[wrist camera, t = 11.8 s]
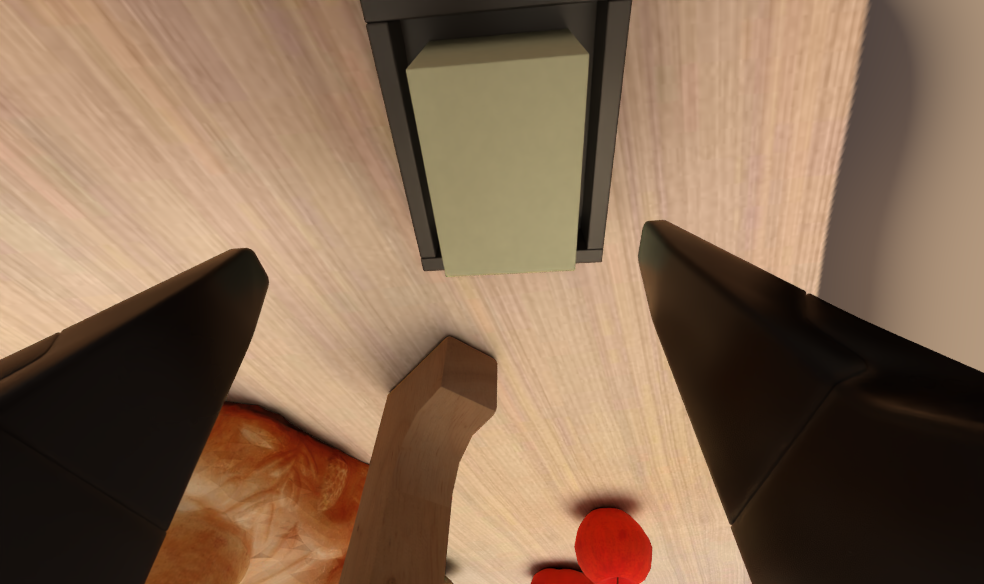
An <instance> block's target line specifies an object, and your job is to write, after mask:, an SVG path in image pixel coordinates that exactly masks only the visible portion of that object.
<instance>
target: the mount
mask: <svg viewBox="0 0 984 584" xmlns="http://www.w3.org/2000/svg"><path fill="white" fill-rule="evenodd" d="M360 3H361V7H362V11H363V15H364V20H365V22H366V23H367V24H366V28H367V32H368V36H369V40H370V45H371V49H372V53H373V57H374V62H375V66H376V70H377V74H378V78H379V83H380V87H381V91H382V95H383V100H384V104H385V108H386V112H387V117H388V121H389V125H390V129H391V134H392V138H393V142H394V146H395V150H396V155H397V159H398V163H399V167H400V172H401V176H402V180H403V184H404V189H405V193H406V197H407V201H408V206H409V210H410V214H411V218H412V223H413V227H414V231H415V235H416V239H417V244H418V248H419V252H420V256H421V262H422V266H423V270H424V271H436V270H444V265H443V260H442V255H441V249H440V244H439V239H438V234H437V229H436V224H435V218H434V213H433V208H432V203H431V198H430V193H429V188H428V182H427V177H426V172H425V167H424V162H423V157H422V151H421V146H420V141H419V136H418V131H417V126H416V121H415V115H414V110H413V105H412V100H411V95H410V90H409V84H408V79H407V74H406V69H407V68H408V66H409V65H410V64H411V63H412V62H413V60H414V59H415V58H416V57H417V55H418V54H419V53H420V52H421V51H422V49H423V48H424V47H425V46H426V45H427V43H428V42H429V41H437V40H448V39H459V38H470V37H481V36H492V35H503V34H514V33H526V32H537V31H548V30H559V29H569V30H570V32H571V33H572V34H573V35H574V36H575V38H576V39H577V40H578V41H579V42H580V44H581V45H582V46H583V47H584V48H585V50H586V51H587V52H588V53H589V68H588V83H587V98H586V113H585V128H584V144H583V159H582V174H581V189H580V204H579V219H578V234H577V250H576V263H592V262H602V255H603V246H604V237H605V228H606V220H607V211H608V203H609V194H610V185H611V177H612V168H613V159H614V151H615V142H616V134H617V125H618V116H619V108H620V99H621V91H622V82H623V73H624V65H625V56H626V48H627V39H628V30H629V22H630V13H631V5H632V0H360Z"/></svg>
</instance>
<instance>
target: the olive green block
mask: <svg viewBox="0 0 984 584" xmlns="http://www.w3.org/2000/svg"><path fill="white" fill-rule="evenodd" d="M588 68H589V53H588V52H587V51H586V50H585V48H584V47H583V46H582V45H581V44H580V42H579V41H578V40H577V39H576V38H575V36H574V35H573V34H572V33H571V32H570V30H569V29H559V30H548V31H537V32H526V33H514V34H503V35H492V36H481V37H470V38H459V39H448V40H437V41H429V42H428V43H427V45H426V46H425V47H424V48H423V49H422V51H421V52H420V53H419V54H418V55H417V57H416V58H415V59H414V60H413V62H412V63H411V64H410V65H409V66H408V68H407V69H406V74H407V79H408V84H409V90H410V95H411V100H412V105H413V110H414V115H415V121H416V126H417V131H418V136H419V141H420V146H421V151H422V157H423V162H424V167H425V172H426V177H427V182H428V188H429V193H430V198H431V203H432V208H433V213H434V218H435V224H436V229H437V234H438V239H439V244H440V249H441V255H442V260H443V265H444V270H445V275H446V277H456V276H476V275H496V274H517V273H537V272H557V271H574V270H575V265H576V250H577V234H578V219H579V204H580V189H581V174H582V159H583V144H584V128H585V113H586V98H587V83H588Z"/></svg>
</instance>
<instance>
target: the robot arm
mask: <svg viewBox="0 0 984 584" xmlns="http://www.w3.org/2000/svg"><path fill="white" fill-rule="evenodd" d="M638 261H639V266H640V271H641V275H642V279H643V284H644V288H645V292H646V296H647V301H648V305H649V309H650V313H651V317H652V320H653V323H654V326H655V329H656V332H657V334H658V337H659V339H660V342H661V345H662V347H663V350H664V353H665V355H666V358H667V360H668V363H669V366H670V368H671V371H672V374H673V376H674V379H675V382H676V384H677V387H678V389H679V392H680V395H681V397H682V400H683V403H684V405H685V408H686V410H687V413H688V416H689V418H690V421H691V424H692V426H693V429H694V432H695V434H696V437H697V439H698V442H699V445H700V447H701V450H702V453H703V455H704V458H705V460H706V463H707V466H708V468H709V471H710V474H711V476H712V479H713V481H714V484H715V487H716V489H717V492H718V495H719V497H720V500H721V503H722V505H723V508H724V510H725V513H726V516H727V518H728V521H729V523H730V525H732V526H731V530H732V532H733V535H734V537H735V540H736V543H737V545H738V548H739V551H740V553H741V556H742V559H743V561H744V564H745V566H746V569H747V572H748V574H749V577H750V580H751V582H752V584H984V373H983V372H981V371H978V370H976V369H974V368H972V367H969V366H967V365H964V364H962V363H960V362H958V361H956V360H953V359H951V358H949V357H946V356H944V355H942V354H940V353H937V352H935V351H933V350H930V349H928V348H926V347H923V346H921V345H919V344H917V343H914V342H912V341H910V340H907V339H905V338H903V337H901V336H898V335H896V334H894V333H891V332H889V331H887V330H885V329H882V328H880V327H878V326H876V325H874V324H871V323H869V322H867V321H865V320H862V319H860V318H858V317H856V316H854V315H852V314H850V313H848V312H846V311H844V310H842V309H840V308H837V307H836V306H833V305H832V304H830V303H827V302H826V301H824V300H822V299H820V298H818V297H816V296H814V295H812V294H807V295H806V292H805V291H804V290H802V289H800V288H798V287H796V286H794V285H792V284H790V283H788V282H786V281H784V280H782V279H780V278H778V277H776V276H774V275H772V274H770V273H768V272H766V271H764V270H762V269H761V268H759V267H757V266H755V265H753V264H751V263H749V262H747V261H745V260H743V259H741V258H739V257H737V256H735V255H733V254H731V253H729V252H727V251H725V250H723V249H721V248H719V247H717V246H715V245H713V244H711V243H709V242H707V241H705V240H703V239H701V238H699V237H697V236H695V235H693V234H691V233H689V232H688V231H686V230H684V229H682V228H680V227H678V226H676V225H674V224H672V223H670V222H668V221H666V220H655V221H647V222H646V223H645V224H644V226H643V230H642V235H641V241H640V247H639V253H638ZM268 285H269V279H268V276H267V274H266V272H265V270H264V268H263V267H262V265H261V263H260V261H259V260H258V258H257V256H256V254H255V253H254V252H253V251H252V250H251V249H249V248H237V249H230V250H228V251H226V252H224V253H222V254H220V255H218V256H215V257H213V258H211V259H209V260H207V261H205V262H203V263H201V264H199V265H197V266H195V267H193V268H191V269H189V270H186V271H184V272H182V273H180V274H178V275H176V276H174V277H172V278H170V279H168V280H166V281H164V282H162V283H160V284H157V285H155V286H153V287H151V288H149V289H147V290H145V291H143V292H141V293H139V294H137V295H135V296H133V297H130V298H128V299H126V300H124V301H122V302H120V303H118V304H116V305H114V306H112V307H110V308H108V309H106V310H104V311H101V312H99V313H97V314H95V315H93V316H91V317H89V318H87V319H85V320H83V321H81V322H79V323H77V324H74V325H72V326H70V327H68V328H66V329H64V330H62V332H61V333H56V334H54V335H52V336H49V337H47V338H45V339H43V340H41V341H39V342H37V343H35V344H33V345H31V346H29V347H26V348H24V349H22V350H20V351H18V352H16V353H14V354H12V355H9V356H7V357H5V358H3V359H1V360H0V584H145V582H146V580H147V578H148V575H149V573H150V571H151V568H152V566H153V564H154V562H155V559H156V557H157V555H158V552H159V550H160V548H161V546H162V543H163V541H164V539H165V537H166V534H167V533H166V532H165V531H167V530H168V529H169V527H170V524H171V522H172V520H173V517H174V515H175V513H176V511H177V508H178V506H179V504H180V502H181V499H182V497H183V495H184V492H185V490H186V488H187V486H188V483H189V481H190V479H191V476H192V474H193V472H194V470H195V467H196V465H197V463H198V461H199V458H200V456H201V454H202V451H203V449H204V447H205V445H206V442H207V440H208V438H209V436H210V433H211V431H212V429H213V426H214V424H215V422H216V420H217V417H218V415H219V413H220V411H221V408H222V406H223V404H224V401H225V399H226V397H227V395H228V392H229V390H230V388H231V385H232V383H233V381H234V379H235V376H236V374H237V372H238V370H239V367H240V365H241V363H242V360H243V358H244V356H245V354H246V351H247V349H248V347H249V344H250V342H251V339H252V337H253V334H254V331H255V328H256V325H257V321H258V318H259V315H260V312H261V308H262V305H263V302H264V299H265V295H266V292H267V289H268Z"/></svg>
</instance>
